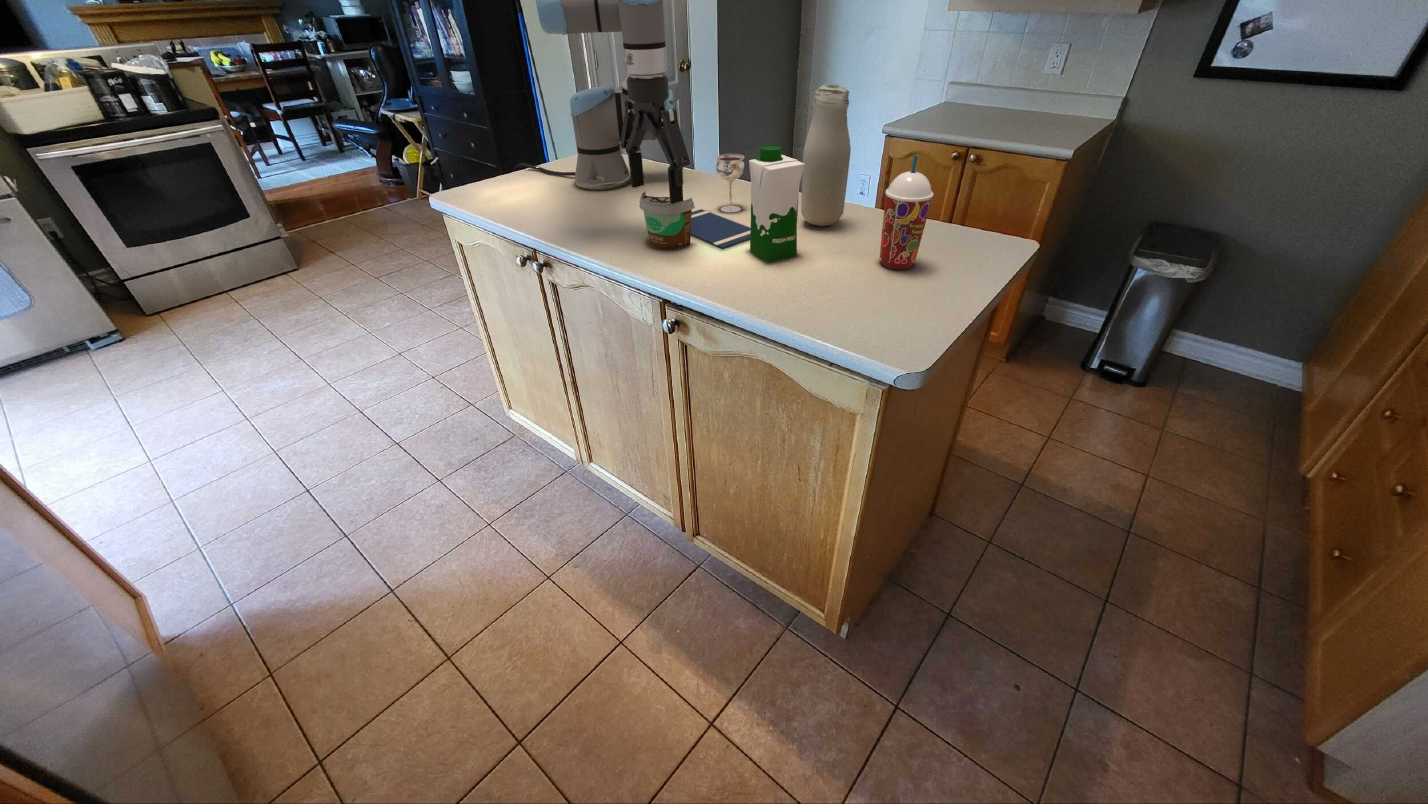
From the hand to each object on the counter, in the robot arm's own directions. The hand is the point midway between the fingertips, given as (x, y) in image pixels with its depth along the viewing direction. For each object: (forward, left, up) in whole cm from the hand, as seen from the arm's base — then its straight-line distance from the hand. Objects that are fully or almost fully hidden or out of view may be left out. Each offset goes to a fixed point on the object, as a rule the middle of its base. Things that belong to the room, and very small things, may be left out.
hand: (656, 194), depth 116 cm
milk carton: (+20, +14, -11) cm, 27 cm away
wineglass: (-7, +26, -11) cm, 29 cm away
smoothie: (+40, +28, -11) cm, 50 cm away
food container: (+1, 0, -11) cm, 11 cm away
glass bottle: (+15, +34, -11) cm, 39 cm away
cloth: (0, +14, -11) cm, 17 cm away
